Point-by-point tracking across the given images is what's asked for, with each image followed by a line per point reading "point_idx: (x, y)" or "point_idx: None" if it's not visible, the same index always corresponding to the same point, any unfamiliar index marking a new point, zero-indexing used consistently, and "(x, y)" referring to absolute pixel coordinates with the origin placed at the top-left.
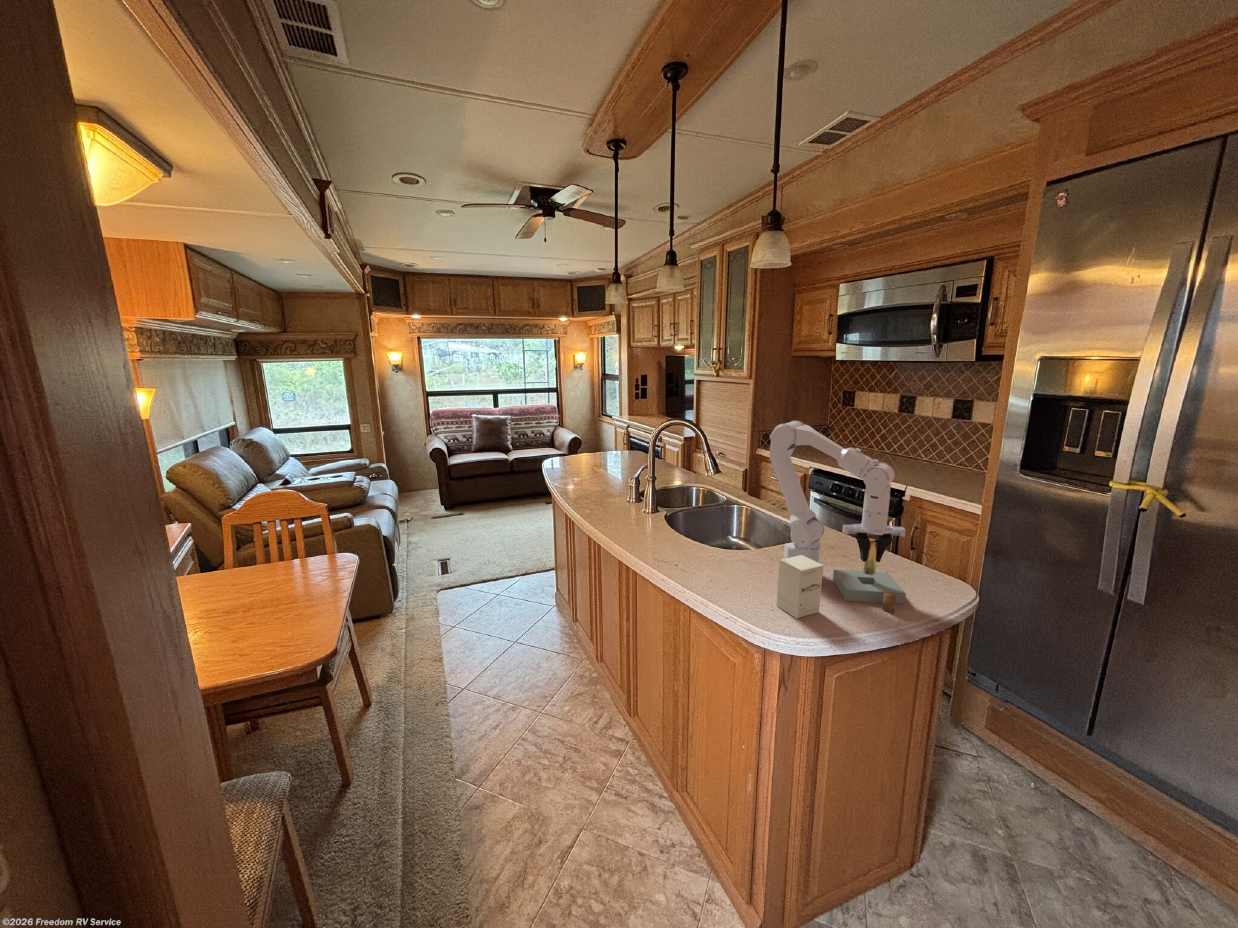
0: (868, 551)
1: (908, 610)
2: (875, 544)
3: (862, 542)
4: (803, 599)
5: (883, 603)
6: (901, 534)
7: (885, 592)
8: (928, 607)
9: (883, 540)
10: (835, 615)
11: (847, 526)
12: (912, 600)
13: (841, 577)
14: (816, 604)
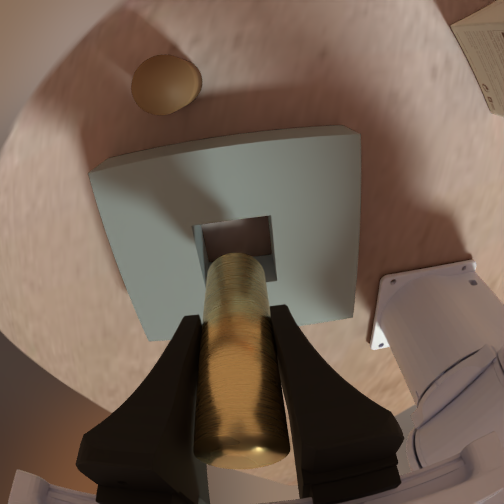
0: (267, 362)
1: (101, 107)
2: (222, 417)
3: (361, 405)
4: None
5: (198, 76)
6: (29, 487)
7: (174, 153)
8: (38, 162)
9: (152, 452)
10: (400, 4)
11: (482, 500)
12: (79, 200)
13: (347, 257)
14: (480, 16)
